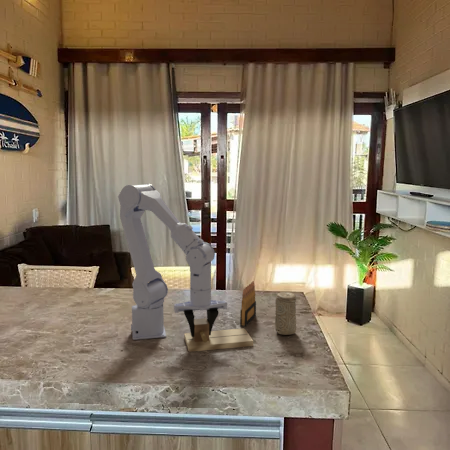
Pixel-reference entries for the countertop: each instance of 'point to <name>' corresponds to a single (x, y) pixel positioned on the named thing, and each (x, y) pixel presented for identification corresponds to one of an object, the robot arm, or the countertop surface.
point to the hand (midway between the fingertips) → (200, 334)
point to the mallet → (201, 330)
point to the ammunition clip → (248, 305)
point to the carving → (285, 313)
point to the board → (220, 340)
